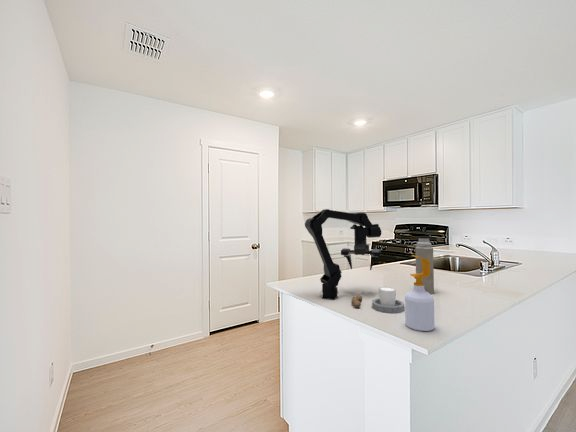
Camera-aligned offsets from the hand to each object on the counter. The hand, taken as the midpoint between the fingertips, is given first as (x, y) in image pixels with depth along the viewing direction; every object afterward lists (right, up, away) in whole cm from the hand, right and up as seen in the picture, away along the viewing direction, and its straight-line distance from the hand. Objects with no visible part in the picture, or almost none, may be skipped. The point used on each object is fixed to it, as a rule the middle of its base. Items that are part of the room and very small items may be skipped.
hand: (360, 269), depth 134 cm
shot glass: (+5, -11, -21) cm, 24 cm away
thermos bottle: (+32, -12, +1) cm, 35 cm away
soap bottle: (+9, -12, -40) cm, 43 cm away
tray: (+6, -12, -21) cm, 25 cm away
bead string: (-6, -12, -16) cm, 21 cm away
